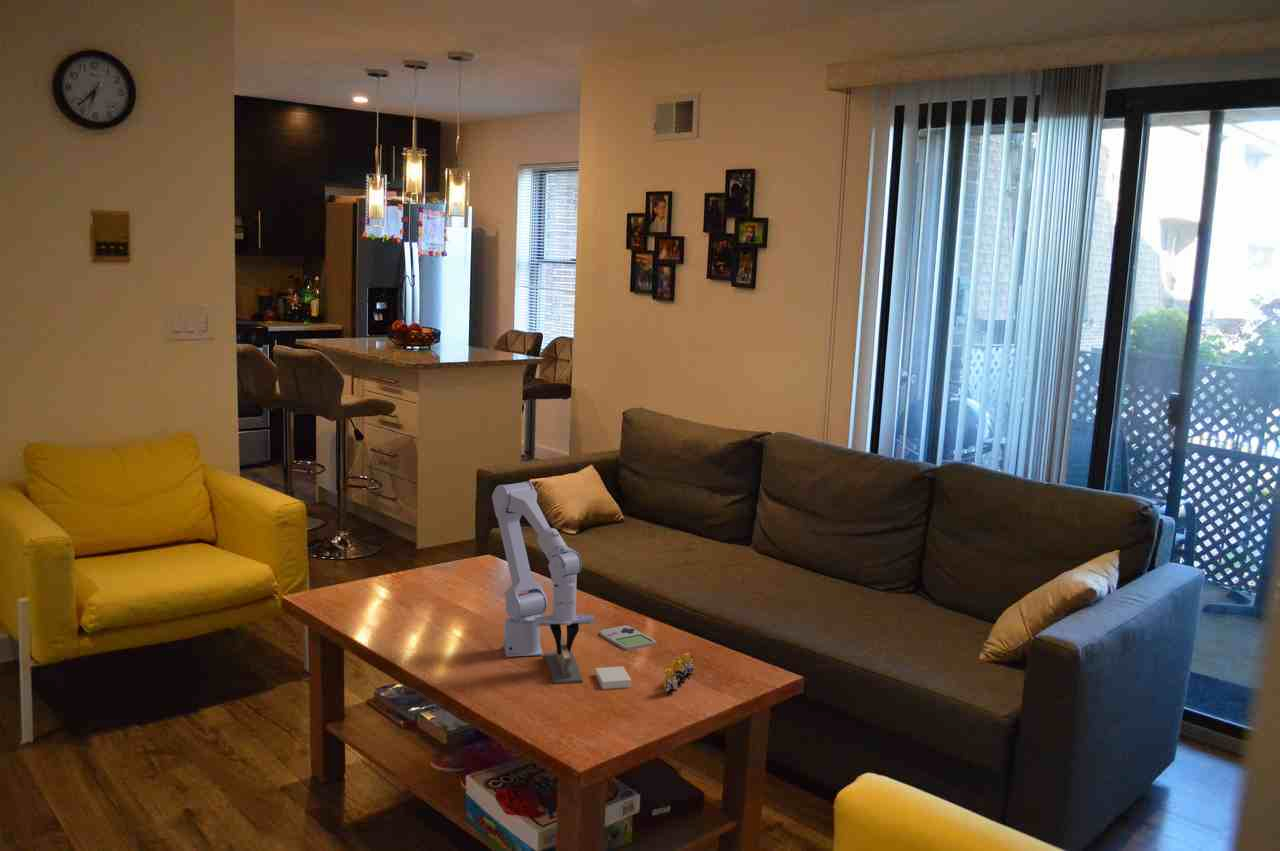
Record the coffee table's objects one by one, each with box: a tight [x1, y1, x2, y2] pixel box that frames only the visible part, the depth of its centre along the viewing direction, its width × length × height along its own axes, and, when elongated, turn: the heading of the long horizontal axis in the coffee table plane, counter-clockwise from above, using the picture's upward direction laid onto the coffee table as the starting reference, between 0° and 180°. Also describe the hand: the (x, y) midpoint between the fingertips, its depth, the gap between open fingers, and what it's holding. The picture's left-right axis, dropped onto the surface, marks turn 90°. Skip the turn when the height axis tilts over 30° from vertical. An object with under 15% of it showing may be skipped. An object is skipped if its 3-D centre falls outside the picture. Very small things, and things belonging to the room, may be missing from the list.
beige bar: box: [555, 634, 571, 678], centre depth 260 cm, size 2×16×5 cm, turn 12°
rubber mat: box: [544, 651, 584, 685], centre depth 260 cm, size 7×19×1 cm, turn 12°
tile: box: [594, 665, 632, 690], centre depth 253 cm, size 7×2×9 cm
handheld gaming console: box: [599, 625, 657, 651], centre depth 283 cm, size 10×2×15 cm
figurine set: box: [663, 651, 694, 696], centre depth 252 cm, size 3×16×7 cm, turn 157°
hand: (563, 652), depth 260 cm, fingers closed on beige bar, 2 cm apart
